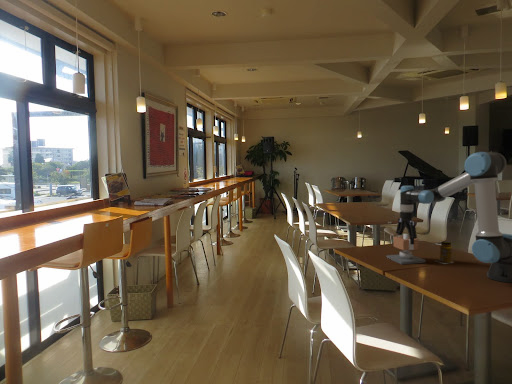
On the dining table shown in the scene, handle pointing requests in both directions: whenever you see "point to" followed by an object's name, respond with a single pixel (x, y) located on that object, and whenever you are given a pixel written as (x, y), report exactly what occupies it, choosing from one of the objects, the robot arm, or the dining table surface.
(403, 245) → the collar
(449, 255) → the condiment
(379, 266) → the dining table surface
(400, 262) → the post stand
